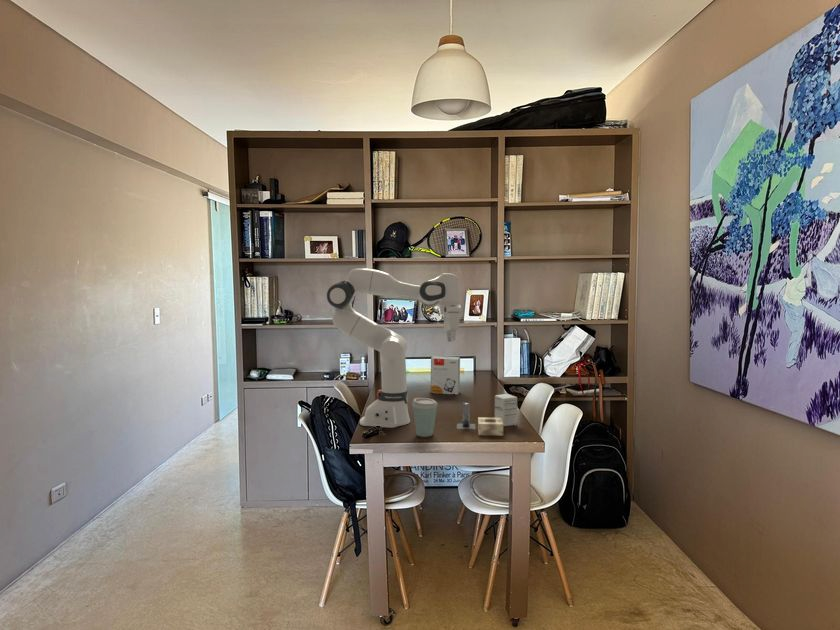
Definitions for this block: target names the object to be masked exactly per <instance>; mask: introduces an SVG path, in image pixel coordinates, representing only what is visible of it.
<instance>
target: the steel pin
mask: <svg viewBox="0 0 840 630" xmlns="http://www.w3.org/2000/svg"><path fill="white" fill-rule="evenodd" d="M470 405H471V404H470V403H469V402H462V424H463V427H470V424H471V423H470V421H471V419H470V418H471V416H470V414H471V412H470V411H471V409H470Z"/></svg>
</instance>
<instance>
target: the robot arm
mask: <svg viewBox="0 0 840 630" xmlns="http://www.w3.org/2000/svg"><path fill="white" fill-rule="evenodd" d="M358 294H366V295H372V296H384V297H387V296H396V297H398V296H399V297H402V298H407V299H412V300H415V301H416V300H417V301H419V302H420V303H422V304H423V305H425V306H429V307H432V306H436V305H437V304H438V303H440V315H443V331H444V332H445V333H446V337H447V338H446V341H447V342H448V343H451V342H455V341H456V336H457V335H456V334H457V330H459V329H460V319H461V317H460V316H461V313H462V308H461V307H462V306H461V299H460V296H461V282H460V279H459V277H458V275H457V274H454V273H451V272H450V273H449V272H444V273H443V272H442V273H441V274H440V275H439V276H437V277H435V278H432V279H429V280H426V281H424V282H423V283H422V284H421V285H416V284H411V283H406V282H401V281H399V279H398V280H397V279H396V278H394V277H393V276H392V275H391V274H390V273H387V272H384V271H382V270H378V269H373V268H372V269H371V268H352V269H351V270H350V271H349V273H348V274H347V276H346V280H343V281H340V282H337V283H334V284H333V285H331V286H330V287H329V288H328V290H327V291H326V300H327V302H328V304H329V305H330V306H331V307H332V308H334V313H333V314H332V318H331V319H332V324H333V325H334V326H335V327H336V328H337V329H338V330H340V331H341V332H342V333H343V334H344V335H346V336H348V337H350V338H352V339H353V340H355V341H356V342H358V343H360V344H362V345H363V346H366V347H368V348H371V349H373V350H375V351H377V352H379V358H380V362H379V363H380V370H381V389H378V390H377V392H376V393H377V394H376V396H377V397H376V399H375V400H374V401H373V402H372V403H371V404H370V405H368V406H367V407H366V409H365V412H364V416H362V417H361V418H360V419H359V425H361V426H364V427H365V426H366V427H376V426H380V427H379V428H388V429H389V428H390V429H392V428H393V429H394V428H397V427H400V426H405V425H407V424H410V423H411V419H410V415H409V408H408V400H409V399H408V398H409V395H408V390H407V365H406V364H407V362H406V353H407V352H406V351H407V349H408V343H407V341H406V339H405V338H404V337H403V336H402V335H401V334H399V333H397V332H395V331H393V330H391V329H389V328H387V327H385V326H382V325H381V324H379V323H376V322H375V321H373V320H372V319H370V318H368V317H367V316H365V315H363V314H362V313H360V312H357V310H355V308H354V304H355V301H356V300H355V299H356V295H358Z"/></svg>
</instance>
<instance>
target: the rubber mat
mask: <svg viewBox="0 0 840 630" xmlns="http://www.w3.org/2000/svg"><path fill="white" fill-rule="evenodd" d="M456 430H476V423H470V427H463V423H456Z"/></svg>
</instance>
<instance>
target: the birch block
mask: <svg viewBox="0 0 840 630" xmlns="http://www.w3.org/2000/svg"><path fill="white" fill-rule="evenodd" d="M477 432H478V436H501V437H502V436H504V426H503V421H502V418H495V417H485V416H484V417H483V416H482V417H480V416H478V417H477Z"/></svg>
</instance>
